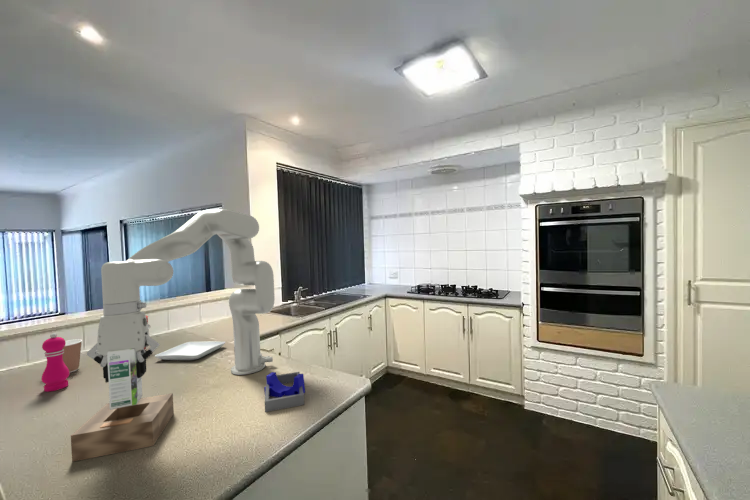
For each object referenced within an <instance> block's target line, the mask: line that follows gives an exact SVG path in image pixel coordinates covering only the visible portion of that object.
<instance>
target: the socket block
mask: <svg viewBox="0 0 750 500" xmlns="http://www.w3.org/2000/svg"><path fill="white" fill-rule="evenodd" d="M174 414H175V411H174V394H173V392H172V393H166V394H165V393H164V394H161V395H154V396H153V395H152V396H146V397H141V399H140V400H139V402H138V403H137V405H132V406H127V407H121V408H116V409H113V410H110V407H109V402H108V403H105V405H103V406H102V407H101V408H99V410H98V411H96V412H95V413H94V414H93V415H92V416H91V417H90V418H88V420H86V422H84V423H83V424H82V425H81V426H80V427H79V428H78V429H76V430H75V431H74V432H73V433H72V434H71V435H70V445H71V446H70V447H71V461H72V462H77V461H83V460H88V459H93V458H97V457H102V456H108V455H113V454H118V453H123V452H128V451H134V450H139V449H143V448H149V447H154V445H155V444H156V443H157V441H158V439H159V437H160V436H161V435H162V433H163V432H164V430H165V428H166V427H167V426H168V424H169V422H170V420H171V419H172V418H173V416H174Z"/></svg>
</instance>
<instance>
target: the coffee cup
mask: <svg viewBox="0 0 750 500" xmlns="http://www.w3.org/2000/svg"><path fill="white" fill-rule="evenodd" d="M65 342H66V344H65V346H64V347H63V349H64V353H63V361H64V363H65V365H66V366H67V368H68V369H69V373H70V374H71V373H74V372H76V371H78V370H79V367H80V361H81V354H82V353H81V350H82V342H83V339H81V338H80V339H79V338H77V339H69V340H68V339H67V340H65Z"/></svg>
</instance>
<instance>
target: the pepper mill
mask: <svg viewBox="0 0 750 500" xmlns="http://www.w3.org/2000/svg"><path fill="white" fill-rule="evenodd" d="M65 341H66V340H65V339H64V338H63V337H60V336H58V334H57V333H55V332H54V333H51V334H50V336H49V338H48V339H46V340H44V341H43V342H42V345H41V349H42V350H43V351H44V357H45V358H46V366H45V368H44V370H43V373H42V374H41V382H42V383H43V384H45V385H44V386H43V391H44V392H54V391H58V390H62V389H65V388H67V387H68V386H69V380H68V378H69V376H70V374H71V373H69V369H68V368H67V366H66V365H65V363H64V361H63V353H64V349H63V347H64V346H65V344H66V342H65Z"/></svg>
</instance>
